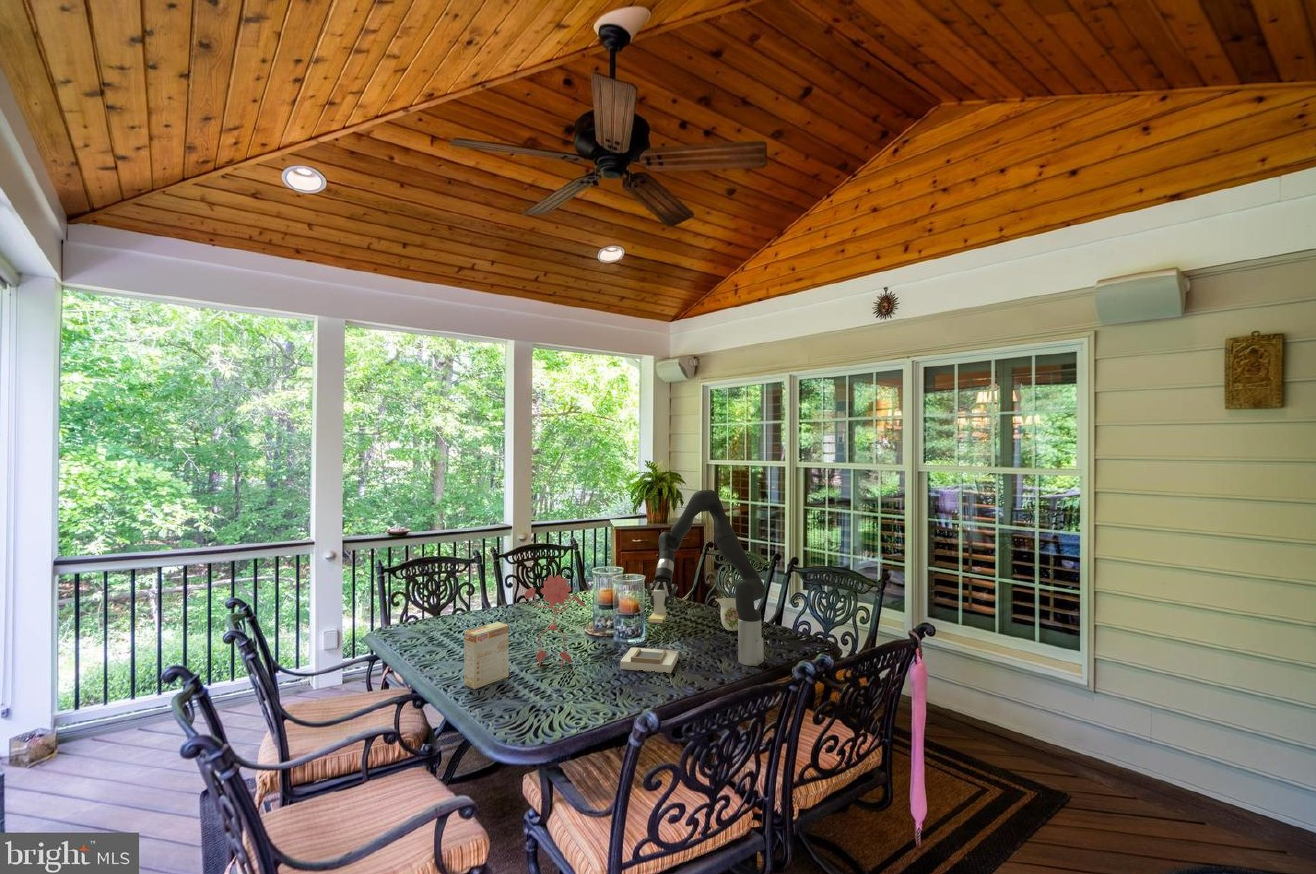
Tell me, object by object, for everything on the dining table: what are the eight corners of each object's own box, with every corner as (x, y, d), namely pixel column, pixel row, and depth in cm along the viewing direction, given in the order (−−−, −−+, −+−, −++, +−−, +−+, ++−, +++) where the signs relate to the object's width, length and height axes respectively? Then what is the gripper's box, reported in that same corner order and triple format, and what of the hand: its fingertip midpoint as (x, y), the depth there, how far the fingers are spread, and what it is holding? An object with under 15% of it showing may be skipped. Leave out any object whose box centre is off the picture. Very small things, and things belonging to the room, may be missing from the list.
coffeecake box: (498, 672, 224) (498, 621, 224) (509, 677, 219) (509, 624, 219) (463, 684, 212) (463, 630, 212) (474, 689, 207) (474, 634, 208)
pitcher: (754, 632, 270) (754, 603, 271) (715, 632, 272) (715, 602, 272) (752, 625, 281) (752, 597, 282) (715, 625, 283) (714, 596, 283)
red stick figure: (581, 671, 224) (581, 579, 226) (518, 667, 229) (519, 577, 230) (593, 658, 239) (593, 572, 241) (533, 654, 244) (534, 570, 245)
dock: (678, 658, 238) (678, 646, 238) (670, 673, 222) (670, 660, 222) (631, 654, 243) (631, 642, 243) (620, 669, 227) (620, 656, 227)
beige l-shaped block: (653, 618, 251) (652, 589, 251) (667, 619, 250) (667, 589, 250) (647, 624, 242) (647, 594, 243) (662, 625, 241) (662, 595, 241)
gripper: (647, 566, 259) (640, 600, 247) (679, 567, 256) (674, 601, 244) (650, 575, 264) (644, 609, 252) (681, 576, 261) (676, 611, 249)
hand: (658, 605), depth 248 cm, fingers closed on beige l-shaped block, 5 cm apart
